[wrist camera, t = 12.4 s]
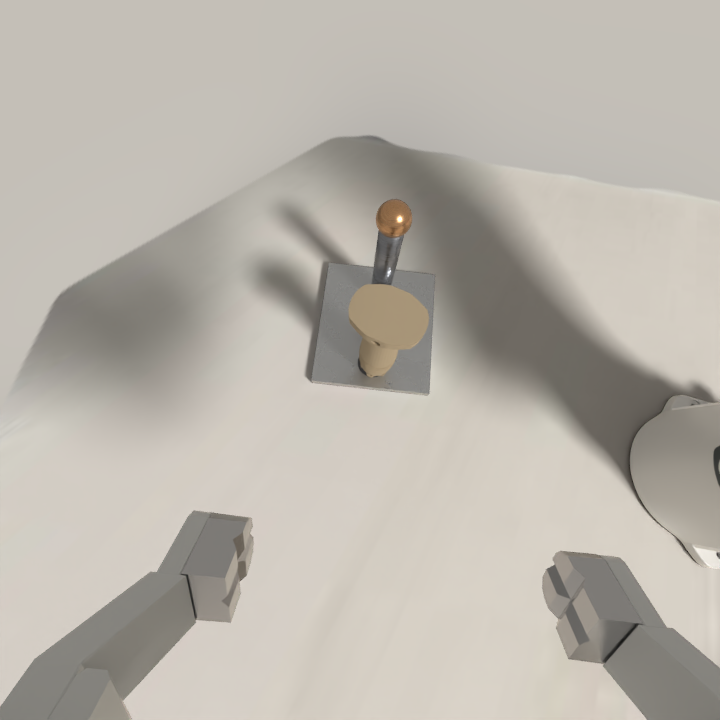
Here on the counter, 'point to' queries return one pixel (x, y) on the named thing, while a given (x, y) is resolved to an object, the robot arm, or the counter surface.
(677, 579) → the counter surface
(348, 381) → the plate
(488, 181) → the counter surface
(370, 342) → the handle
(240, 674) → the counter surface
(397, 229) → the lever with round knob
